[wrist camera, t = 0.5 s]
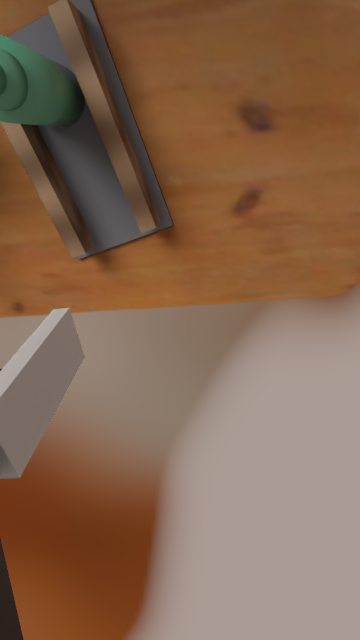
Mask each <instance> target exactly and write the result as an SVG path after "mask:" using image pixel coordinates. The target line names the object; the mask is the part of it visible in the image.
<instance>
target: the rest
mask: <svg viewBox="0 0 360 640" xmlns="http://www.w3.org/2000/svg"><path fill="white" fill-rule="evenodd" d="M47 8H48V10H49V13H50V15H51V17H52V20H53V22H54V25H55V27H56V29H57V32H58V34H59V37H60V39H61V41H62V44H63V46H64V49H65V51H66V54H67V56H68V58H69V61H70V63H71V66H72V68H73V70H74V73H75V75H76V78H77V80H78V82H79V85H80V87H81V90H82V92H83V94H84V97H85V99H86V102H87V104H88V106H89V109H90V111H91V114H92V116H93V118H94V121H95V123H96V126H97V128H98V130H99V133H100V135H101V138H102V140H103V142H104V145H105V147H106V150H107V152H108V154H109V157H110V159H111V162H112V164H113V166H114V169H115V171H116V174H117V176H118V178H119V181H120V183H121V186H122V188H123V191H124V193H125V195H126V198H127V200H128V203H129V205H130V207H131V210H132V212H133V215H134V217H135V219H136V222H137V224H138V227H139V229H140V231H141V233H144V232H146V231H149V230H152V229H155V228H157V226H158V224H159V223H160V218H159V215H158V213H157V210H156V208H155V205H154V202H153V200H152V197H151V195H150V192H149V189H148V187H147V184H146V181H145V179H144V176H143V174H142V171H141V168H140V166H139V163H138V161H137V158H136V155H135V153H134V150H133V148H132V145H131V142H130V140H129V137H128V134H127V132H126V129H125V127H124V124H123V121H122V119H121V116H120V114H119V111H118V108H117V106H116V103H115V101H114V98H113V95H112V93H111V90H110V87H109V85H108V82H107V80H106V77H105V74H104V72H103V69H102V67H101V64H100V61H99V59H98V56H97V54H96V51H95V48H94V46H93V43H92V40H91V38H90V35H89V33H88V30H87V27H86V25H85V22H84V20H83V17H82V14H81V12H80V11H79V10H78V9H77V8H76V7H75V6H74V5H73V3H72V2H71V1H70V0H59V1H57V2H55V3H54V4H52V5H50V6H48V7H47ZM0 123H1V124H2V126H3V128H4V130H5V132H6V134H7V136H8V138H9V140H10V141H11V143H12V145H13V147H14V149H15V151H16V153H17V155H18V157H19V158H20V160H21V162H22V164H23V166H24V168H25V170H26V172H27V174H28V175H29V177H30V179H31V181H32V183H33V185H34V187H35V189H36V191H37V193H38V194H39V196H40V198H41V200H42V202H43V204H44V206H45V208H46V210H47V211H48V213H49V215H50V217H51V219H52V221H53V223H54V225H55V227H56V228H57V230H58V232H59V234H60V236H61V238H62V240H63V242H64V244H65V245H66V247H67V249H68V251H69V253H70V255H71V257H72V258H75V257H77V256H80V255H83V254H86V253H87V252H88V251H89V250H90V249H91V248H92V247H93V246H94V245H95V243H94V241H93V239H92V237H91V235H90V233H89V231H88V229H87V227H86V225H85V223H84V221H83V219H82V216H81V214H80V212H79V210H78V208H77V206H76V204H75V202H74V200H73V198H72V196H71V194H70V192H69V190H68V188H67V186H66V184H65V182H64V180H63V177H62V175H61V173H60V171H59V169H58V167H57V165H56V163H55V161H54V159H53V157H52V155H51V153H50V151H49V149H48V147H47V145H46V143H45V141H44V138H43V136H42V134H41V132H40V130H39V128H38V126H37V125H27V124H15V123H6V122H2V121H0Z"/></svg>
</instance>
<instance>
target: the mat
mask: <svg viewBox="0 0 360 640" xmlns="http://www.w3.org/2000/svg"><path fill="white" fill-rule="evenodd" d="M70 1H71V2H72V3H73V5H74V6H75V7H76V8H77V9H78V10H79V11H80V12H81V14H82V17H83V20H84V22H85V25H86V27H87V30H88V33H89V35H90V38H91V40H92V43H93V46H94V48H95V51H96V54H97V56H98V59H99V61H100V64H101V67H102V69H103V72H104V74H105V77H106V80H107V82H108V85H109V87H110V90H111V93H112V95H113V98H114V101H115V103H116V106H117V108H118V111H119V114H120V116H121V119H122V121H123V124H124V127H125V129H126V132H127V134H128V137H129V140H130V142H131V145H132V148H133V150H134V153H135V155H136V158H137V161H138V163H139V166H140V168H141V171H142V174H143V176H144V179H145V181H146V184H147V187H148V189H149V192H150V195H151V197H152V200H153V202H154V205H155V208H156V210H157V213H158V215H159V218H160V223H159V224H158V226H157V228H155V229H152V230H149V231H146V232H144V233H141V231H140V229H139V227H138V224H137V222H136V219H135V217H134V215H133V212H132V210H131V207H130V205H129V203H128V200H127V198H126V195H125V193H124V191H123V188H122V186H121V183H120V181H119V178H118V176H117V174H116V171H115V169H114V166H113V164H112V162H111V159H110V157H109V154H108V152H107V150H106V147H105V145H104V142H103V140H102V138H101V135H100V133H99V130H98V128H97V126H96V123H95V121H94V118H93V116H92V114H91V111H90V109H89V106H88V104H87V102H86V99H85V104H84V110H83V113H82V115H81V117H80V119H79V120H78V121H77V122H76V123H75V124H73V125H72V126H69V127H52V126H39V125H37V126H38V128H39V130H40V132H41V134H42V136H43V138H44V141H45V143H46V145H47V147H48V149H49V151H50V153H51V155H52V157H53V159H54V161H55V163H56V165H57V167H58V169H59V171H60V173H61V175H62V177H63V180H64V182H65V184H66V186H67V188H68V190H69V192H70V194H71V196H72V198H73V200H74V202H75V204H76V206H77V208H78V210H79V212H80V214H81V216H82V219H83V221H84V223H85V225H86V227H87V229H88V231H89V233H90V235H91V237H92V239H93V241H94V243H95V245H94V246H93V247H92V248H91V249H90V250H89V251H88V252H87V253H86V254H83V255H80V256H77V258H78V259H81V258H84V257H87V256H89V255H92V254H95V253H98V252H100V251H103V250H106V249H109V248H112V247H114V246H117V245H120V244H123V243H126V242H128V241H131V240H134V239H137V238H139V237H142V236H145V235H148V234H151V233H153V232H156V231H159V230H162V229H165V228H167V227H170V226H173V223H172V220H171V217H170V214H169V212H168V209H167V206H166V204H165V201H164V198H163V195H162V193H161V190H160V187H159V184H158V182H157V179H156V176H155V174H154V171H153V168H152V165H151V163H150V160H149V157H148V155H147V152H146V149H145V146H144V144H143V141H142V138H141V136H140V133H139V130H138V127H137V125H136V122H135V119H134V116H133V114H132V111H131V108H130V106H129V103H128V100H127V97H126V95H125V92H124V89H123V87H122V84H121V81H120V78H119V76H118V73H117V70H116V68H115V65H114V62H113V59H112V57H111V54H110V51H109V49H108V46H107V43H106V40H105V38H104V35H103V32H102V29H101V27H100V24H99V21H98V19H97V16H96V13H95V10H94V8H93V5H92V2H91V0H70ZM7 37H8V38H10V39H12V40H14V41H16V42H18V43H20V44H22V45H24V46H26V47H28V48H29V49H31V50H33V51H35V52H37V53H39V54H41V55H43V56H45V57H47V58H49V59H51V60H53V61H55V62H57V63H59V64H61V65H63V66H65V67H66V68H68V69H69V70H71V71H72V72H73V73H74V70H73V68H72V66H71V63H70V61H69V58H68V56H67V54H66V51H65V49H64V46H63V44H62V41H61V39H60V37H59V34H58V32H57V29H56V27H55V25H54V22H53V20H52V17H51V15H50V13H48V14H46V15H44V16H42V17H40V18H39V19H37V20H35V21H33V22H32V23H30V24H28V25H26V26H25V27H23V28H21V29H19V30H18V31H16V32H14V33H12V34H11V35H9V36H7ZM74 74H75V73H74ZM84 98H85V97H84Z"/></svg>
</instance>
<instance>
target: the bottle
mask: <svg viewBox="0 0 360 640" xmlns="http://www.w3.org/2000/svg"><path fill="white" fill-rule="evenodd" d="M84 104H85V98H84V94H83V92H82V90H81V87H80V85H79V82H78V80H77V78H76V75H75V74H74V73H73V72H72V71H71V70H69V69H68V68H66V67H65V66H63V65H61V64H59V63H57V62H55V61H53V60H51V59H49V58H47V57H45V56H43V55H41V54H39V53H37V52H35V51H33V50H31V49H29V48H28V47H26V46H24V45H22V44H20V43H18V42H16V41H14V40H12V39H10V38H8V37H6V36H3V35H0V121H2V122H6V123H15V124H27V125H39V126H52V127H69V126H72V125H73V124H75V123H76V122H77V121H78V120H79V119H80V117H81V115H82V113H83V110H84Z"/></svg>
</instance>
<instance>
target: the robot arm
mask: <svg viewBox="0 0 360 640" xmlns="http://www.w3.org/2000/svg"><path fill="white" fill-rule="evenodd" d="M83 359H84V353H83V350H82V347H81V344H80V340H79V338H78V334H77V331H76V328H75V325H74V321H73V318H72V315H71V312H70V309H69V308H63V309H53V310H52V312H51V313H50V314H49V315H48V316H47V317H46V319H45V320H44V321H43V322H42V323H41V324H40V326H39V327H38V328H37V329H36V330H35V331H34V333H33V334H32V335H31V336H30V337H29V338H28V340H27V341H26V342H25V343H24V344H23V345H22V347H21V348H20V349H19V350H18V351H17V353H16V354H15V355H14V356H13V357H12V358H11V359H10V361H9V362H8V363H7V364H6V365H5V367H4V368H3V369H0V478H20V476H21V475H22V473H23V471H24V469H25V467H26V465H27V463H28V461H29V460H30V458H31V456H32V454H33V452H34V450H35V448H36V447H37V444H38V443H39V441H40V439H41V437H42V435H43V434H44V432H45V430H46V428H47V426H48V424H49V422H50V420H51V419H52V417H53V415H54V413H55V411H56V409H57V407H58V406H59V404H60V402H61V400H62V398H63V396H64V394H65V393H66V391H67V389H68V387H69V385H70V383H71V381H72V380H73V378H74V376H75V374H76V372H77V370H78V368H79V367H80V364H81V363H82V361H83ZM0 640H23V636H22V631H21V627H20V622H19V618H18V614H17V610H16V605H15V600H14V596H13V592H12V587H11V583H10V579H9V574H8V570H7V565H6V561H5V557H4V552H3V548H2V543H1V539H0Z"/></svg>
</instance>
